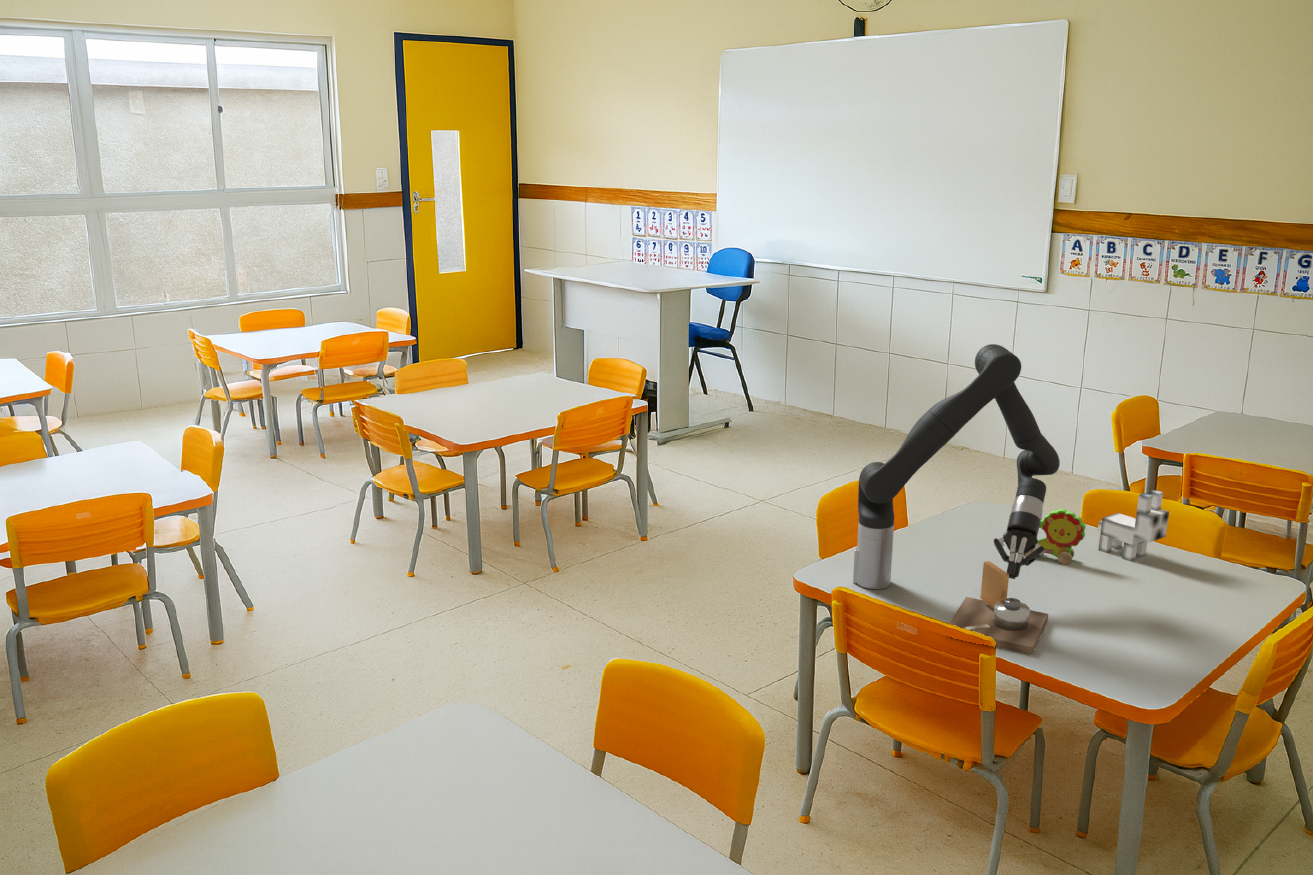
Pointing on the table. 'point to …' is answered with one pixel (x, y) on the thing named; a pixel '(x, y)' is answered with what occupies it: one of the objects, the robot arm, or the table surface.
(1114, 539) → the toy llama
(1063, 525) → the toy lion
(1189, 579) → the table surface
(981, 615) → the base
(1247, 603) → the table surface
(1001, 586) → the lock handle
